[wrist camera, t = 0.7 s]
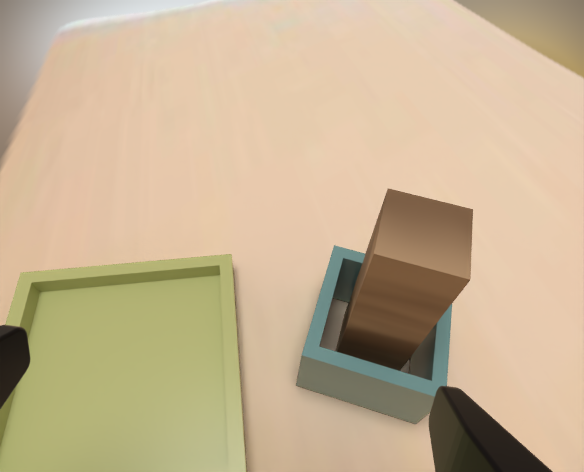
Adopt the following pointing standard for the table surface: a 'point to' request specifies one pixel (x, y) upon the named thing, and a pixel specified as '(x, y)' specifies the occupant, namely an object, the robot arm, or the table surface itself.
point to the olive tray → (127, 370)
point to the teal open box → (366, 375)
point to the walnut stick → (406, 278)
